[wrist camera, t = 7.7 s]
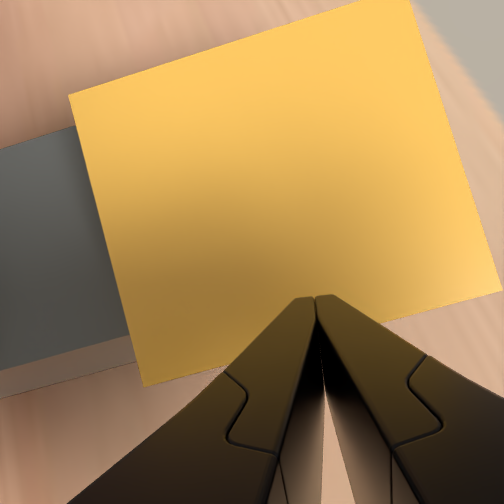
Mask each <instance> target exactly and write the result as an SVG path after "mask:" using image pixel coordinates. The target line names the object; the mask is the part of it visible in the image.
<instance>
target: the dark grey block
mask: <svg viewBox="0 0 504 504" xmlns="http://www.w3.org/2000/svg"><path fill="white" fill-rule="evenodd" d="M136 361H137V360H136V356H135V352H134V348H133V344H132V341H131V337H130V333H129V329H128V325H127V321H126V317H125V313H124V310H123V306H122V302H121V298H120V294H119V290H118V286H117V282H116V279H115V275H114V271H113V267H112V263H111V259H110V255H109V251H108V248H107V244H106V240H105V236H104V232H103V228H102V224H101V220H100V217H99V213H98V209H97V205H96V201H95V197H94V193H93V189H92V186H91V182H90V178H89V174H88V170H87V166H86V162H85V158H84V155H83V151H82V147H81V143H80V139H79V135H78V131H77V127H76V125H75V126H72V127H69V128H66V129H63V130H60V131H56V132H53V133H50V134H47V135H44V136H41V137H38V138H34V139H31V140H28V141H25V142H22V143H19V144H16V145H12V146H9V147H6V148H3V149H0V399H1V398H5V397H8V396H12V395H16V394H19V393H23V392H27V391H30V390H34V389H37V388H41V387H45V386H48V385H52V384H56V383H59V382H63V381H67V380H70V379H74V378H77V377H81V376H85V375H88V374H92V373H96V372H99V371H103V370H106V369H110V368H114V367H117V366H121V365H125V364H128V363H132V362H136Z"/></svg>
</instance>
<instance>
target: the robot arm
mask: <svg viewBox="0 0 504 504" xmlns="http://www.w3.org/2000/svg"><path fill="white" fill-rule="evenodd" d="M315 308H316V309H315ZM319 343H320V344H319ZM320 352H321V353H320ZM321 360H322V362H321ZM322 369H323V371H322ZM323 378H324V380H323ZM324 386H325V391H324ZM325 392H326V397H327V401H328V405H329V409H330V412H331V416H332V419H333V423H334V427H335V430H336V434H337V438H338V441H339V445H340V449H341V452H342V456H343V460H344V463H345V467H346V471H347V474H348V478H349V482H350V485H351V489H352V493H353V496H354V500H355V504H504V398H503V397H501V396H499V395H497V394H495V393H493V392H491V391H490V390H488V389H486V388H484V387H482V386H480V385H478V384H477V383H475V382H473V381H471V380H469V379H467V378H466V377H464V376H462V375H461V374H459V373H457V372H456V371H454V370H452V369H451V368H449V367H447V366H446V365H444V364H442V363H441V362H439V361H438V360H436V359H435V358H433V357H432V356H428V355H427V354H426V353H424V352H423V351H421V350H419V349H418V348H416V347H415V346H413V345H412V344H410V343H409V342H407V341H405V340H404V339H402V338H401V337H399V336H398V335H396V334H395V333H393V332H391V331H390V330H388V329H387V328H385V327H384V326H382V325H381V324H379V323H377V322H376V321H374V320H373V319H371V318H370V317H368V316H367V315H365V314H364V313H362V312H360V311H359V310H357V309H356V308H354V307H353V306H351V305H350V304H348V303H346V302H345V301H343V300H342V299H340V298H339V297H337V296H336V295H333V294H329V295H319V296H316V297H315V301H314V298H313V297H312V296H309V297H299V298H295V299H293V300H292V301H291V302H290V303H289V305H288V306H287V307H286V308H285V309H284V310H283V311H282V312H281V313H280V314H279V315H278V316H277V317H276V318H275V319H274V320H273V321H272V322H271V323H270V324H269V325H268V326H267V327H266V328H265V329H264V330H263V331H262V332H261V333H260V334H259V335H258V336H257V337H256V338H255V339H254V340H253V341H252V342H251V343H250V344H249V345H248V346H247V347H246V348H245V349H244V351H243V352H242V353H241V354H240V355H239V356H238V357H237V358H236V359H235V360H234V361H233V362H232V363H231V364H230V365H229V366H228V367H227V368H226V369H225V370H224V371H223V372H222V373H220V374H219V375H218V376H217V377H216V378H215V379H214V380H213V381H212V382H211V383H210V384H209V385H208V386H207V387H206V388H205V389H204V390H203V391H202V392H201V393H200V394H199V395H198V396H197V397H196V398H195V399H193V400H192V401H191V402H190V403H189V404H188V405H186V406H185V407H184V408H183V409H182V410H181V411H179V412H178V413H177V414H176V415H175V416H174V417H172V418H171V419H170V420H169V421H167V422H166V423H165V424H164V425H163V426H161V427H160V428H159V429H158V430H156V431H155V432H154V433H153V434H151V435H150V436H149V437H148V438H147V439H145V440H144V441H143V442H142V443H140V444H139V445H138V446H137V447H136V448H134V449H133V450H132V451H131V452H129V453H128V454H127V455H126V456H124V457H123V458H122V459H121V460H120V461H118V462H117V463H116V464H115V465H113V466H112V467H111V468H110V469H109V470H107V471H106V472H105V473H104V474H102V475H101V476H100V477H99V478H98V479H96V480H95V481H94V482H93V483H91V484H90V485H89V486H88V487H86V488H85V489H84V490H83V491H82V492H80V493H79V494H78V495H77V496H75V497H74V498H73V499H72V500H71V501H69V502H68V503H67V504H321V490H322V463H323V435H324V408H325Z"/></svg>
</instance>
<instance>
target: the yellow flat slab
mask: <svg viewBox="0 0 504 504" xmlns="http://www.w3.org/2000/svg"><path fill="white" fill-rule="evenodd" d="M68 96H69V100H70V104H71V108H72V112H73V116H74V120H75V124H76V127H77V131H78V135H79V139H80V143H81V147H82V151H83V155H84V158H85V162H86V166H87V170H88V174H89V178H90V182H91V186H92V189H93V193H94V197H95V201H96V205H97V209H98V213H99V217H100V220H101V224H102V228H103V232H104V236H105V240H106V244H107V248H108V251H109V255H110V259H111V263H112V267H113V271H114V275H115V279H116V282H117V286H118V290H119V294H120V298H121V302H122V306H123V310H124V313H125V317H126V321H127V325H128V329H129V333H130V337H131V341H132V344H133V348H134V352H135V356H136V360H137V364H138V368H139V372H140V375H141V379H142V383H143V387H147V386H150V385H154V384H158V383H162V382H165V381H169V380H173V379H176V378H180V377H184V376H187V375H191V374H195V373H199V372H202V371H206V370H210V369H213V368H217V367H221V366H224V365H228V364H231V363H232V362H233V361H234V360H235V359H236V358H237V357H238V356H239V355H240V354H241V353H242V352H243V351H244V349H245V348H246V347H247V346H248V345H249V344H250V343H251V342H252V341H253V340H254V339H255V338H256V337H257V336H258V335H259V334H260V333H261V332H262V331H263V330H264V329H265V328H266V327H267V326H268V325H269V324H270V323H271V322H272V321H273V320H274V319H275V318H276V317H277V316H278V315H279V314H280V313H281V312H282V311H283V310H284V309H285V308H286V307H287V306H288V305H289V303H290V302H291V301H292V300H293V299H295V298H299V297H309V296H312V297H313V298H314V301H315V297H316V296H319V295H329V294H333V295H336V296H337V297H339V298H340V299H342V300H343V301H345V302H346V303H348V304H350V305H351V306H353V307H354V308H356V309H357V310H359V311H360V312H362V313H364V314H365V315H367V316H368V317H370V318H371V319H373V320H374V321H376V322H377V323H379V324H380V323H384V322H387V321H391V320H395V319H398V318H402V317H406V316H409V315H413V314H417V313H421V312H424V311H428V310H432V309H435V308H439V307H443V306H446V305H450V304H454V303H458V302H461V301H465V300H469V299H472V298H476V297H480V296H483V295H487V294H491V293H495V292H498V291H502V286H501V283H500V280H499V277H498V274H497V271H496V268H495V265H494V262H493V259H492V255H491V252H490V249H489V246H488V243H487V240H486V237H485V234H484V231H483V228H482V224H481V221H480V218H479V215H478V212H477V209H476V206H475V203H474V200H473V197H472V193H471V190H470V187H469V184H468V181H467V178H466V175H465V172H464V169H463V166H462V162H461V159H460V156H459V153H458V150H457V147H456V144H455V141H454V138H453V135H452V131H451V128H450V125H449V122H448V119H447V116H446V113H445V110H444V107H443V104H442V100H441V97H440V94H439V91H438V88H437V85H436V82H435V79H434V76H433V73H432V69H431V66H430V63H429V60H428V57H427V54H426V51H425V48H424V45H423V42H422V38H421V35H420V32H419V29H418V26H417V23H416V20H415V17H414V14H413V11H412V7H411V4H410V1H409V0H360V1H357V2H354V3H351V4H348V5H345V6H342V7H339V8H335V9H332V10H329V11H326V12H323V13H320V14H317V15H314V16H311V17H308V18H305V19H301V20H298V21H295V22H292V23H289V24H286V25H283V26H280V27H277V28H274V29H271V30H268V31H264V32H261V33H258V34H255V35H252V36H249V37H246V38H243V39H240V40H237V41H234V42H230V43H227V44H224V45H221V46H218V47H215V48H212V49H209V50H206V51H203V52H200V53H196V54H193V55H190V56H187V57H184V58H181V59H178V60H175V61H172V62H169V63H166V64H163V65H159V66H156V67H153V68H150V69H147V70H144V71H141V72H138V73H135V74H132V75H129V76H125V77H122V78H119V79H116V80H113V81H110V82H107V83H104V84H101V85H98V86H95V87H92V88H88V89H85V90H82V91H79V92H76V93H73V94H70V95H68ZM315 309H316V308H315Z"/></svg>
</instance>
